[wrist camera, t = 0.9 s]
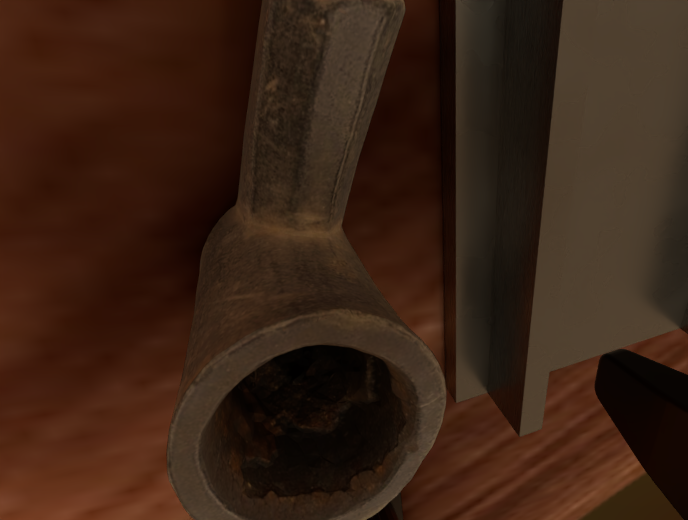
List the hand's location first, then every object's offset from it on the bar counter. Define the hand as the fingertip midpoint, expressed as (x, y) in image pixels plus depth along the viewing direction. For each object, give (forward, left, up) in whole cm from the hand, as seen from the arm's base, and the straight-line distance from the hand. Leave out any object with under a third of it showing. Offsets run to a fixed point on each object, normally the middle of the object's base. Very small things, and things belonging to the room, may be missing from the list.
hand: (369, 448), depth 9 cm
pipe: (0, 0, -10) cm, 10 cm away
